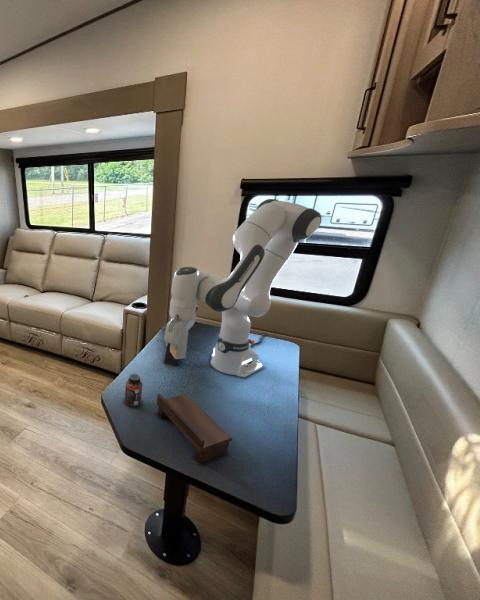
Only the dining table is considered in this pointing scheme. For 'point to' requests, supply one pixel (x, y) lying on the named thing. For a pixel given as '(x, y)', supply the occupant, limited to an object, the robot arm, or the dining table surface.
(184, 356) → the cosmetic box
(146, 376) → the dining table surface
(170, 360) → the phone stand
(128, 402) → the supplement bottle
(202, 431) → the dark wooden riser
